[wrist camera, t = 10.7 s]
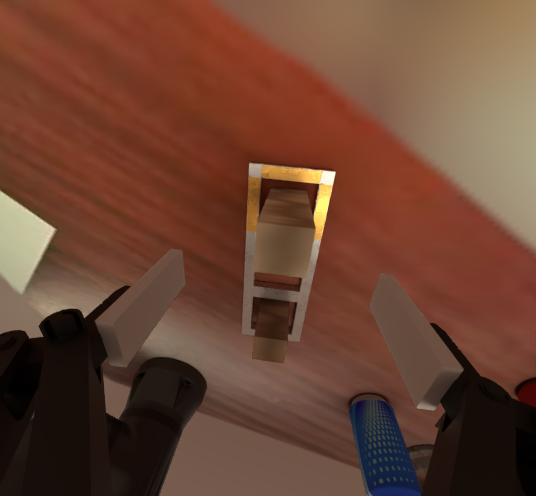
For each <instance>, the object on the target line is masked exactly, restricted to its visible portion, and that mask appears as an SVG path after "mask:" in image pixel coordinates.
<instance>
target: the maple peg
mask: <svg viewBox="0 0 536 496" xmlns="http://www.w3.org/2000/svg"><path fill="white" fill-rule="evenodd" d="M315 232H316V227H315V223H314V219H313V215H312V211H311V207H310V202H309V198H308V194H307V191H306V190H297V189H287V188H278V187H271V189H270V191H269V194H268V196H267V199H266V201H265V204H264V206H263V209H262V211H261V214H260V216H259V219H258V221H257V230H256V245H255V260H254V272H260V273H268V274H276V275H284V276H292V277H300V278H306V277H307V272H308V267H309V262H310V257H311V252H312V247H313V242H314V237H315Z"/></svg>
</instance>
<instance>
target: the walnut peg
mask: <svg viewBox="0 0 536 496" xmlns="http://www.w3.org/2000/svg"><path fill="white" fill-rule="evenodd" d="M288 316H289V301H283V300H276V299H268V298H261V303H260V308H259V313H258V319H257V324H256V329H255V334H254V344H253V356H252V359H258V360H265V361H271V362H278V363H284V360H285V354H286V349H287V344H288Z"/></svg>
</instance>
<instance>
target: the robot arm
mask: <svg viewBox="0 0 536 496" xmlns="http://www.w3.org/2000/svg"><path fill="white" fill-rule="evenodd" d="M185 284H186V283H185V273H184V262H183V251H182V250H179V249H170V250H169V251H168V252H167V253H166V254H165V255H164V256H163V257H162V258H161V259H160V260H159V261H158V262H156V263H155V264H154V265H153V266H152V267H151V268H150V269H149V270H148V271H147V272H146V273H145V274H144V275H143V276H142V277H141V278H140V279H138V280H137V281H136V282H135V283H134V284H133V285H132V286H124V287H122V288H120V289H118V290H116V291H115V292H114V293H112V294H111V295H110V296H109V297H108V299H106V300H105V301H103V302H102V304H100V305H99V306H98V307H97V308H96V309H94V310H93V311H92V312H91V313H90V314H89V315H88V316H87V317H85V318H84V317H83V315H82V312H81V311H80V310H78V309H66V310H61V311H58V312H56V313H53V314H51V315H50V316H48V317H46V318H45V319H44V320H43V321H42V322H41V323H40V325H39V328H40V330H41V332H42V334H43V336H44V337H38V338H30V339H29V337H28V335H27V334H26V332H25V331H21V330H15V331H9V332H5V333H3V334H0V496H159V495H160V492H161V489H162V486H163V484H164V481H165V478H166V475H167V473H168V470H169V467H170V464H171V461H172V459H173V456H174V453H175V450H176V448H177V445H178V442H179V439H180V437H181V434H182V431H183V429H184V428H185V426H186V425H187V423H188V422H189V420H190V419H191V417H192V416H193V415H194V413H195V412H196V410H197V409H198V407H199V406H200V404H201V403H202V401H203V398H204V395H205V392H206V388H207V386H206V382H205V380H204V378H203V377H202V375H201V374H200V373H199V372H198V371H197V370H195V369H194V368H193V367H191V366H189V365H187V364H185V363H183V362H180V361H177V360H174V359H168V358H155V359H151V360H148V361H146V362H145V363H143V364H142V366H141V367H140V369H139V370H138V372H137V373H136V375H135V377H134V380H133V383H132V387H131V390H130V394H129V397H128V400H127V404H126V407H125V409H124V411H123V413H122V414H121V416H120V418H119V419H116V418H115V417H113V416H111V415H109V414H108V413H106V408H105V394H104V381H103V369H102V366H101V364H102V362H103V361H104V360H105V359H106V358H108V360H109V363H110V365H111V366H119V367H127V366H128V364H129V363H130V362H131V360H132V359H133V357H134V356H135V354H136V353H137V352H138V350H139V349H140V347H141V346H142V345H143V343H144V342H145V340H146V339H147V338H148V336H149V335H150V333H151V332H152V330H153V329H154V328H155V326H156V325H157V323H158V322H159V321H160V319H161V318H162V316H163V315H164V313H165V312H166V311H167V309H168V308H169V306H170V305H171V304H172V302H173V301H174V299H175V298H176V297H177V295H178V294H179V292H180V291H181V289H182V288H183V287H184V285H185ZM369 308H370V310H371V312H372V314H373V316H374V319H375V321H376V323H377V325H378V327H379V329H380V331H381V334H382V336H383V338H384V340H385V342H386V344H387V346H388V349H389V351H390V353H391V355H392V357H393V359H394V361H395V363H396V366H397V368H398V370H399V372H400V374H401V376H402V378H403V381H404V383H405V385H406V387H407V389H408V391H409V393H410V396H411V398H412V400H413V402H414V404H415V406H416V408H420V409H427V410H435V409H436V407H437V406H438V404H439V403H440V402H441V404H442V406H443V408H444V409H445V411H446V412H445V413H444V414H443V415H442V417H441V418H440V419H439V421H438V422H437V423H436V425H435V427H437V428H438V427H439V430H438V433H437V437H436V441H435V445H434V448H433V452H432V456H431V460H430V463H429V467H428V471H427V475H426V478H425V482H424V486H423V490H422V493H421V496H536V407H534V406H531V405H528V404H526V403H523V402H521V401H518V400H515V399H513V398H511V396H510V395H509V394H508V392H506V391H505V390H504V389H503V388H502V387H501V386H500V385H498V384H497V383H495V382H493V381H492V380H490V379H487V378H485V377H481V376H480V375H479V373H478V372H477V371H476V370H475V368H474V367H473V366H472V365H471V363H470V362H469V361H468V360H467V358H466V357H465V356H464V355H463V353H462V352H461V351H460V350H459V349H458V347H457V346H456V345H455V343H454V342H452V340H451V338H450V337H449V336H448V335H447V333H446V332H445V331H444V330H443V329H441V328H440V327H439V326H438V325H436V324H435V323H429V322H428V321H427V319H426V318H425V317H424V315H423V314H422V313H421V311H420V310H419V309H418V307H417V306H416V305H415V303H414V302H413V301H412V299H411V298H410V297H409V295H408V294H407V293H406V291H405V290H404V289H403V287H402V286H401V285H400V283H399V282H398V281H397V279H396V278H395V277H394V275H391V274H383V273H381V274H380V277H379V280H378V283H377V285H376V288H375V291H374V294H373V296H372V299H371V302H370V304H369Z"/></svg>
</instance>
